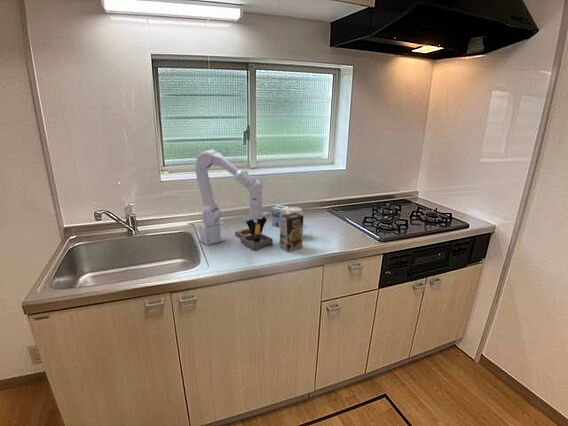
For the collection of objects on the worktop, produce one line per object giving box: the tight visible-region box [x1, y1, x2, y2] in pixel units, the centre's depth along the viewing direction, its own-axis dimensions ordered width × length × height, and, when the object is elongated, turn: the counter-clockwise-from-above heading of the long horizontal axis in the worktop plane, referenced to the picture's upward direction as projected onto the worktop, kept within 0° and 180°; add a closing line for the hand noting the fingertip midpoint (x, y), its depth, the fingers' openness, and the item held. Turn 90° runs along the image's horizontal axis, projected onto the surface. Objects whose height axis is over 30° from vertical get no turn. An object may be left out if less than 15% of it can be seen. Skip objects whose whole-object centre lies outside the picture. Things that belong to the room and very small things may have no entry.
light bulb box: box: [271, 204, 291, 228], centre depth 175 cm, size 11×7×11 cm, turn 62°
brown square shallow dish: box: [234, 227, 251, 239], centre depth 162 cm, size 9×9×2 cm
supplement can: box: [286, 206, 304, 216], centre depth 160 cm, size 8×8×15 cm
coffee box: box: [279, 213, 304, 253], centre depth 147 cm, size 9×6×16 cm
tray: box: [240, 232, 273, 251], centre depth 153 cm, size 11×11×3 cm
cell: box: [252, 221, 261, 242], centre depth 151 cm, size 4×4×9 cm
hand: (256, 233), depth 151 cm, fingers closed on cell, 4 cm apart
